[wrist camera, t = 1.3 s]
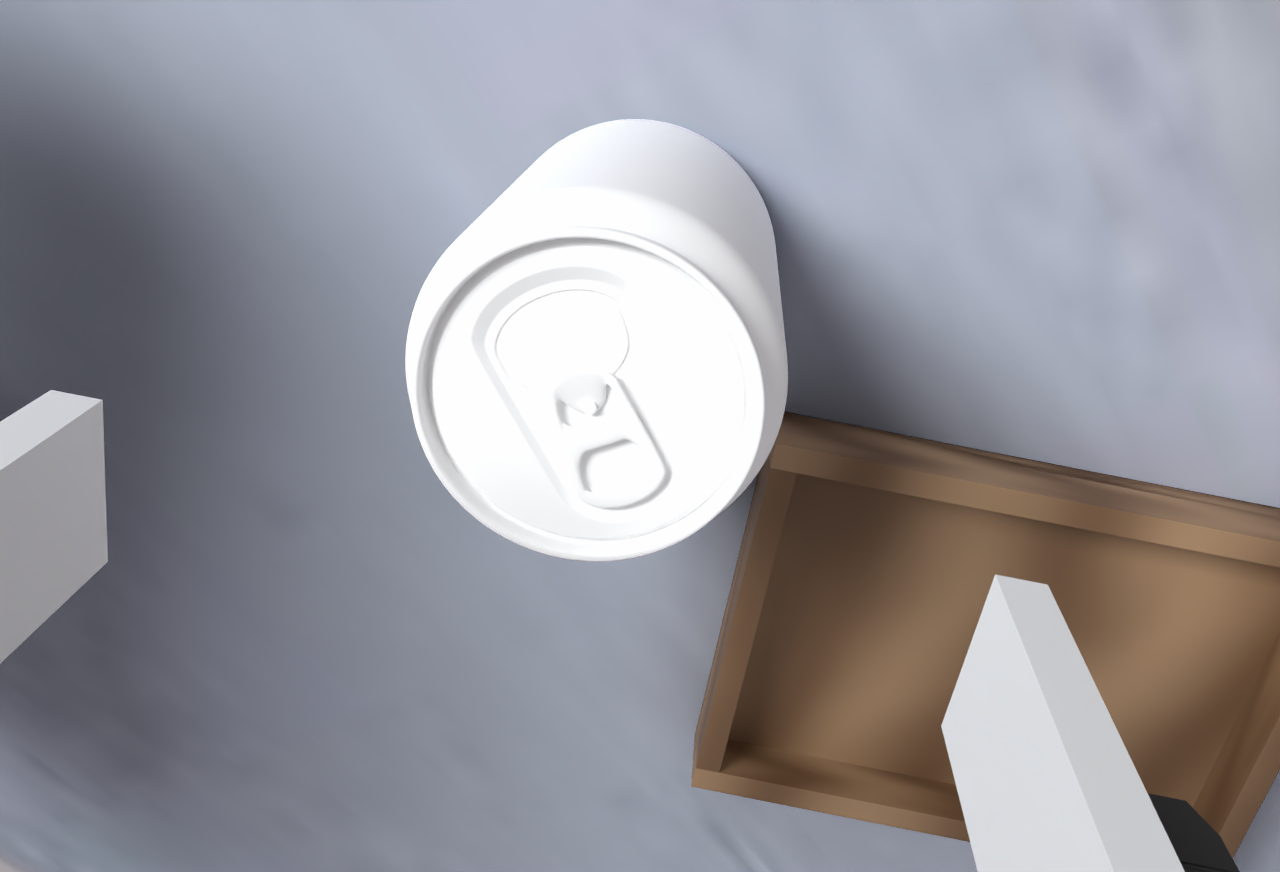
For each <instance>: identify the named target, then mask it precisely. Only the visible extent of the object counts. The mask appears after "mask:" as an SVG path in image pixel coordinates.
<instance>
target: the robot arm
mask: <svg viewBox="0 0 1280 872" xmlns="http://www.w3.org/2000/svg"><path fill="white" fill-rule="evenodd" d="M107 562H108V548H107V518H106V488H105V457H104V427H103V400H101V399H96V398H90V397H85V396H80V395H75V394H70V393H65V392H60V391H55V390H50V391H48V392H47V393H45V394H44V395H42V396H40V397H39V398H37V399H36V400H34V401H32V402H31V403H29V404H28V405H26V406H24V407H23V408H21V409H20V410H18V411H16V412H15V413H13V414H12V415H10V416H8V417H7V418H5V419H4V420H2V421H0V664H1V663H2V662H3V661H4V660H5V659H6V658H7V657H8V656H9V655H10V654H11V653H12V652H13V651H14V650H15V649H16V648H17V647H18V646H20V645H21V644H22V643H23V642H24V641H25V640H26V639H27V638H28V637H29V636H30V635H31V634H32V633H33V632H34V631H35V630H36V629H37V628H38V627H40V626H41V625H42V624H43V623H44V622H45V621H46V620H47V619H48V618H49V617H50V616H51V615H52V614H53V613H54V612H55V611H56V610H57V609H59V608H60V607H61V606H62V605H63V604H64V603H65V602H66V601H67V600H68V599H69V598H70V597H71V596H72V595H73V594H74V593H75V592H76V591H78V590H79V589H80V588H81V587H82V586H83V585H84V584H85V583H86V582H87V581H88V580H89V579H90V578H91V577H92V576H93V575H94V574H95V573H97V572H98V571H99V570H100V569H101V568H102V567H103V566H104V565H105V564H106V563H107ZM941 728H942V731H943V735H944V739H945V743H946V747H947V751H948V755H949V759H950V763H951V767H952V771H953V775H954V779H955V783H956V787H957V791H958V795H959V799H960V803H961V807H962V811H963V815H964V819H965V823H966V827H967V831H968V835H969V839H970V843H971V847H972V851H973V855H974V859H975V863H976V867H977V871H978V872H1239V870H1238V868H1237V866H1236V864H1235V863H1234V861H1233V859H1232V857H1231V855H1230V853H1229V851H1228V850H1227V848H1226V846H1225V844H1224V842H1223V840H1222V838H1221V836H1220V835H1219V834H1218V833H1217V832H1216V831H1215V830H1214V829H1213V828H1212V827H1211V826H1210V825H1209V824H1208V823H1207V822H1206V821H1205V820H1204V819H1203V818H1202V817H1201V816H1200V815H1199V814H1198V813H1197V812H1196V811H1195V810H1194V809H1193V808H1192V806H1191V805H1190V804H1189V803H1188V802H1187V801H1185V800H1180V799H1175V798H1170V797H1165V796H1160V795H1154V794H1149V793H1147V791H1146V789H1145V787H1144V785H1143V783H1142V781H1141V779H1140V777H1139V775H1138V773H1137V770H1136V768H1135V766H1134V764H1133V762H1132V760H1131V758H1130V756H1129V754H1128V752H1127V749H1126V747H1125V745H1124V743H1123V741H1122V739H1121V737H1120V735H1119V733H1118V731H1117V729H1116V726H1115V724H1114V722H1113V720H1112V718H1111V716H1110V714H1109V712H1108V710H1107V708H1106V705H1105V703H1104V701H1103V699H1102V697H1101V695H1100V693H1099V691H1098V689H1097V687H1096V685H1095V682H1094V680H1093V678H1092V676H1091V674H1090V672H1089V670H1088V668H1087V666H1086V664H1085V661H1084V659H1083V657H1082V655H1081V653H1080V651H1079V649H1078V647H1077V645H1076V643H1075V641H1074V638H1073V636H1072V634H1071V632H1070V630H1069V628H1068V626H1067V624H1066V622H1065V620H1064V617H1063V615H1062V613H1061V611H1060V609H1059V607H1058V605H1057V603H1056V601H1055V599H1054V597H1053V594H1052V592H1051V590H1050V588H1049V586H1048V585H1047V584H1042V583H1037V582H1032V581H1026V580H1021V579H1016V578H1011V577H1006V576H1001V575H996V574H995V576H994V579H993V582H992V585H991V588H990V590H989V593H988V596H987V599H986V602H985V604H984V607H983V610H982V613H981V616H980V618H979V621H978V624H977V627H976V630H975V632H974V635H973V638H972V641H971V644H970V647H969V649H968V652H967V655H966V658H965V661H964V663H963V666H962V669H961V672H960V675H959V677H958V680H957V683H956V686H955V689H954V691H953V694H952V697H951V700H950V703H949V705H948V708H947V711H946V714H945V717H944V719H943V722H942V725H941Z"/></svg>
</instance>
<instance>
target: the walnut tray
mask: <svg viewBox="0 0 1280 872" xmlns="http://www.w3.org/2000/svg"><path fill="white" fill-rule="evenodd" d="M995 574H996V575H1001V576H1006V577H1011V578H1016V579H1021V580H1026V581H1032V582H1037V583H1042V584H1047V585H1048V586H1049V588H1050V590H1051V592H1052V594H1053V597H1054V599H1055V601H1056V603H1057V605H1058V607H1059V609H1060V611H1061V613H1062V615H1063V617H1064V620H1065V622H1066V624H1067V626H1068V628H1069V630H1070V632H1071V634H1072V636H1073V638H1074V641H1075V643H1076V645H1077V647H1078V649H1079V651H1080V653H1081V655H1082V657H1083V659H1084V661H1085V664H1086V666H1087V668H1088V670H1089V672H1090V674H1091V676H1092V678H1093V680H1094V682H1095V685H1096V687H1097V689H1098V691H1099V693H1100V695H1101V697H1102V699H1103V701H1104V703H1105V705H1106V708H1107V710H1108V712H1109V714H1110V716H1111V718H1112V720H1113V722H1114V724H1115V726H1116V729H1117V731H1118V733H1119V735H1120V737H1121V739H1122V741H1123V743H1124V745H1125V747H1126V749H1127V752H1128V754H1129V756H1130V758H1131V760H1132V762H1133V764H1134V766H1135V768H1136V770H1137V773H1138V775H1139V777H1140V779H1141V781H1142V783H1143V785H1144V787H1145V789H1146V791H1147V793H1149V794H1154V795H1160V796H1165V797H1170V798H1175V799H1180V800H1185V801H1187V802H1188V803H1189V804H1190V805H1191V806H1192V808H1193V809H1194V810H1195V811H1196V812H1197V813H1198V814H1199V815H1200V816H1201V817H1202V818H1203V819H1204V820H1205V821H1206V822H1207V823H1208V824H1209V825H1210V826H1211V827H1212V828H1213V829H1214V830H1215V831H1216V832H1217V833H1218V834H1219V835H1220V836H1221V838H1222V840H1223V842H1224V844H1225V846H1226V848H1227V850H1228V851H1229V853H1230V855H1231V857H1232V859H1233V857H1234V855H1235V853H1236V851H1237V849H1238V847H1239V846H1240V844H1241V842H1242V840H1243V838H1244V836H1245V834H1246V832H1247V830H1248V829H1249V827H1250V825H1251V823H1252V821H1253V819H1254V817H1255V815H1256V813H1257V811H1258V810H1259V808H1260V806H1261V804H1262V802H1263V800H1264V798H1265V796H1266V794H1267V793H1268V791H1269V789H1270V787H1271V785H1272V783H1273V781H1274V779H1275V777H1276V776H1277V774H1278V772H1279V770H1280V508H1276V507H1271V506H1266V505H1260V504H1255V503H1250V502H1245V501H1240V500H1235V499H1230V498H1225V497H1219V496H1214V495H1209V494H1204V493H1199V492H1194V491H1189V490H1183V489H1178V488H1173V487H1168V486H1163V485H1158V484H1153V483H1148V482H1142V481H1137V480H1132V479H1127V478H1122V477H1117V476H1112V475H1106V474H1101V473H1096V472H1091V471H1086V470H1081V469H1076V468H1071V467H1065V466H1060V465H1055V464H1050V463H1045V462H1040V461H1035V460H1029V459H1024V458H1019V457H1014V456H1009V455H1004V454H999V453H994V452H988V451H983V450H978V449H973V448H968V447H963V446H958V445H953V444H947V443H942V442H937V441H932V440H927V439H922V438H917V437H911V436H906V435H901V434H896V433H891V432H886V431H881V430H876V429H870V428H865V427H860V426H855V425H850V424H845V423H840V422H834V421H829V420H824V419H819V418H814V417H809V416H804V415H799V414H793V413H788V412H784V415H783V419H782V423H781V426H780V429H779V432H778V435H777V438H776V440H775V443H774V445H773V447H772V449H771V452H770V453H769V455H768V457H767V459H766V461H765V463H764V464H763V466H762V468H761V469H760V471H759V474H758V478H757V482H756V486H755V491H754V495H753V499H752V503H751V507H750V511H749V515H748V519H747V523H746V528H745V532H744V536H743V540H742V544H741V548H740V552H739V556H738V560H737V565H736V569H735V573H734V577H733V581H732V585H731V589H730V593H729V597H728V602H727V606H726V610H725V614H724V618H723V622H722V626H721V630H720V634H719V639H718V643H717V647H716V651H715V655H714V659H713V663H712V667H711V671H710V676H709V680H708V684H707V688H706V692H705V696H704V700H703V704H702V709H701V713H700V717H699V721H698V725H697V729H696V733H695V739H694V754H693V769H692V784H691V786H692V787H697V788H702V789H707V790H712V791H717V792H722V793H727V794H732V795H737V796H742V797H747V798H752V799H757V800H762V801H767V802H772V803H777V804H782V805H787V806H792V807H797V808H802V809H808V810H813V811H818V812H823V813H828V814H833V815H838V816H843V817H848V818H853V819H858V820H863V821H868V822H873V823H878V824H883V825H888V826H893V827H898V828H903V829H908V830H913V831H918V832H923V833H928V834H933V835H938V836H943V837H948V838H953V839H958V840H963V841H968V842H970V839H969V835H968V831H967V827H966V823H965V819H964V815H963V811H962V807H961V803H960V799H959V795H958V791H957V787H956V783H955V779H954V775H953V771H952V767H951V763H950V759H949V755H948V751H947V747H946V743H945V739H944V735H943V731H942V728H941V725H942V722H943V719H944V717H945V714H946V711H947V708H948V705H949V703H950V700H951V697H952V694H953V691H954V689H955V686H956V683H957V680H958V677H959V675H960V672H961V669H962V666H963V663H964V661H965V658H966V655H967V652H968V649H969V647H970V644H971V641H972V638H973V635H974V632H975V630H976V627H977V624H978V621H979V618H980V616H981V613H982V610H983V607H984V604H985V602H986V599H987V596H988V593H989V590H990V588H991V585H992V582H993V579H994V576H995Z"/></svg>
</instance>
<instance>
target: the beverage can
mask: <svg viewBox="0 0 1280 872" xmlns="http://www.w3.org/2000/svg"><path fill="white" fill-rule="evenodd" d="M405 367H406V381H407V388H408V395H409V400H410V404H411V408H412V413H413V419H414V423H415V427H416V430H417V434H418V437H419V440H420V443H421V445H422V448H423V450H424V452H425V454H426V457H427V459H428V461H429V462H430V464H431V466H432V468H433V470H434V471H435V473H436V475H437V476H438V478H439V479H440V481H441V482H442V483H443V485H444V486H445V487H446V489H447V490H448V491H449V492H450V494H451V495H452V496H453V497H454V498H455V499H456V500H457V501H458V503H459V504H460V505H461V506H462V507H463V508H465V509H466V510H467V511H468V512H469V513H470V514H471V515H472V516H473V517H475V518H476V519H477V520H478V521H480V522H481V523H482V524H484V525H485V526H487V527H488V528H489V529H491V530H492V531H494V532H496V533H497V534H499V535H501V536H502V537H504V538H506V539H508V540H510V541H512V542H514V543H516V544H518V545H521V546H523V547H525V548H528V549H531V550H533V551H536V552H539V553H543V554H546V555H550V556H554V557H559V558H564V559H570V560H578V561H616V560H624V559H630V558H635V557H640V556H644V555H647V554H651V553H654V552H657V551H660V550H662V549H665V548H667V547H670V546H672V545H674V544H676V543H678V542H680V541H682V540H684V539H686V538H687V537H689V536H691V535H692V534H694V533H695V532H697V531H698V530H700V529H701V528H702V527H704V526H705V525H706V524H708V523H709V522H710V521H711V520H712V519H714V518H715V517H716V516H717V515H718V514H720V513H721V512H722V511H723V510H725V509H726V508H727V507H728V506H729V505H730V504H732V503H733V502H734V501H735V500H736V499H737V498H738V497H739V496H740V495H741V494H742V493H743V491H744V490H745V489H746V488H747V487H748V486H749V484H750V483H751V482H752V481H753V479H754V478H755V477H756V475H757V474H758V472H759V471H760V469H761V468H762V466H763V464H764V463H765V461H766V459H767V457H768V455H769V453H770V452H771V449H772V447H773V445H774V443H775V440H776V438H777V435H778V432H779V429H780V426H781V423H782V419H783V415H784V411H785V405H786V399H787V389H788V363H787V352H786V342H785V332H784V322H783V313H782V303H781V293H780V283H779V274H778V264H777V254H776V245H775V238H774V232H773V228H772V224H771V220H770V217H769V214H768V211H767V208H766V206H765V204H764V201H763V199H762V197H761V195H760V193H759V192H758V190H757V188H756V186H755V185H754V183H753V182H752V180H751V179H750V177H749V176H748V175H747V173H746V172H745V171H744V170H743V169H742V167H741V166H740V165H739V164H738V163H737V162H736V161H735V160H734V159H733V158H732V157H731V156H730V155H729V154H727V153H726V152H725V151H724V150H723V149H721V148H720V147H719V146H717V145H716V144H714V143H713V142H711V141H710V140H708V139H706V138H705V137H703V136H701V135H699V134H697V133H695V132H693V131H691V130H688V129H686V128H683V127H680V126H677V125H674V124H670V123H666V122H661V121H655V120H646V119H623V120H615V121H609V122H604V123H600V124H596V125H593V126H590V127H587V128H584V129H582V130H580V131H577V132H575V133H573V134H571V135H569V136H568V137H566V138H564V139H563V140H561V141H559V142H558V143H556V144H555V145H554V146H552V147H551V148H550V149H548V150H547V151H546V152H545V153H544V154H543V155H541V156H540V157H539V158H538V159H537V160H536V161H535V162H534V163H533V164H532V165H531V166H530V167H529V168H528V169H527V170H526V171H525V172H524V173H523V174H522V175H521V176H520V177H519V178H518V179H517V180H516V181H515V182H514V183H513V184H512V185H511V186H510V187H509V188H508V189H507V190H506V191H505V192H504V193H503V194H502V195H501V196H500V197H499V198H498V199H497V200H495V201H494V202H493V203H492V204H491V205H490V206H489V207H488V208H487V209H486V210H485V211H484V212H483V213H482V214H481V215H480V216H479V217H478V218H477V219H476V220H475V221H474V222H473V223H472V224H471V225H470V226H469V227H468V228H467V229H466V230H465V231H464V232H463V233H462V234H461V235H460V236H459V237H458V238H457V239H456V240H455V241H454V242H453V243H452V244H451V245H450V246H449V248H448V249H447V250H446V251H445V252H444V253H443V255H442V256H441V257H440V259H439V260H438V261H437V263H436V264H435V266H434V267H433V269H432V270H431V272H430V274H429V275H428V277H427V279H426V281H425V283H424V284H423V287H422V289H421V291H420V293H419V296H418V298H417V301H416V304H415V307H414V309H413V313H412V316H411V320H410V324H409V329H408V335H407V343H406V356H405Z"/></svg>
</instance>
